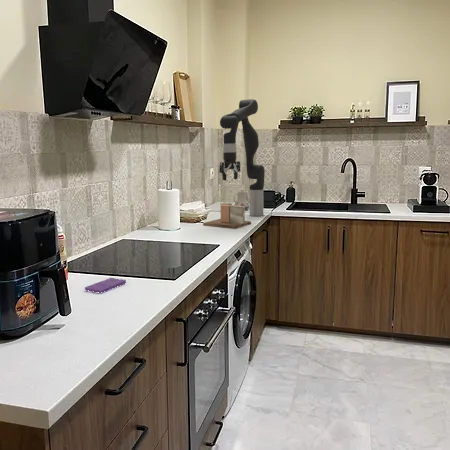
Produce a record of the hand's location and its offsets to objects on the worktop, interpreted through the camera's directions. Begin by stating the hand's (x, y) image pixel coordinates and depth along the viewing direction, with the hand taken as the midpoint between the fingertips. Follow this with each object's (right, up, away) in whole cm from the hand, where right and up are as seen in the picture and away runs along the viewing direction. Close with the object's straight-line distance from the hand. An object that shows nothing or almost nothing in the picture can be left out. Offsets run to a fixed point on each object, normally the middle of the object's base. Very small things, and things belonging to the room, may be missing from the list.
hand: (230, 179), depth 268 cm
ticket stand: (-2, -26, +6) cm, 27 cm away
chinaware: (+7, -15, +67) cm, 69 cm away
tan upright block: (-2, -24, +6) cm, 25 cm away
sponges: (-44, -48, -111) cm, 128 cm away
